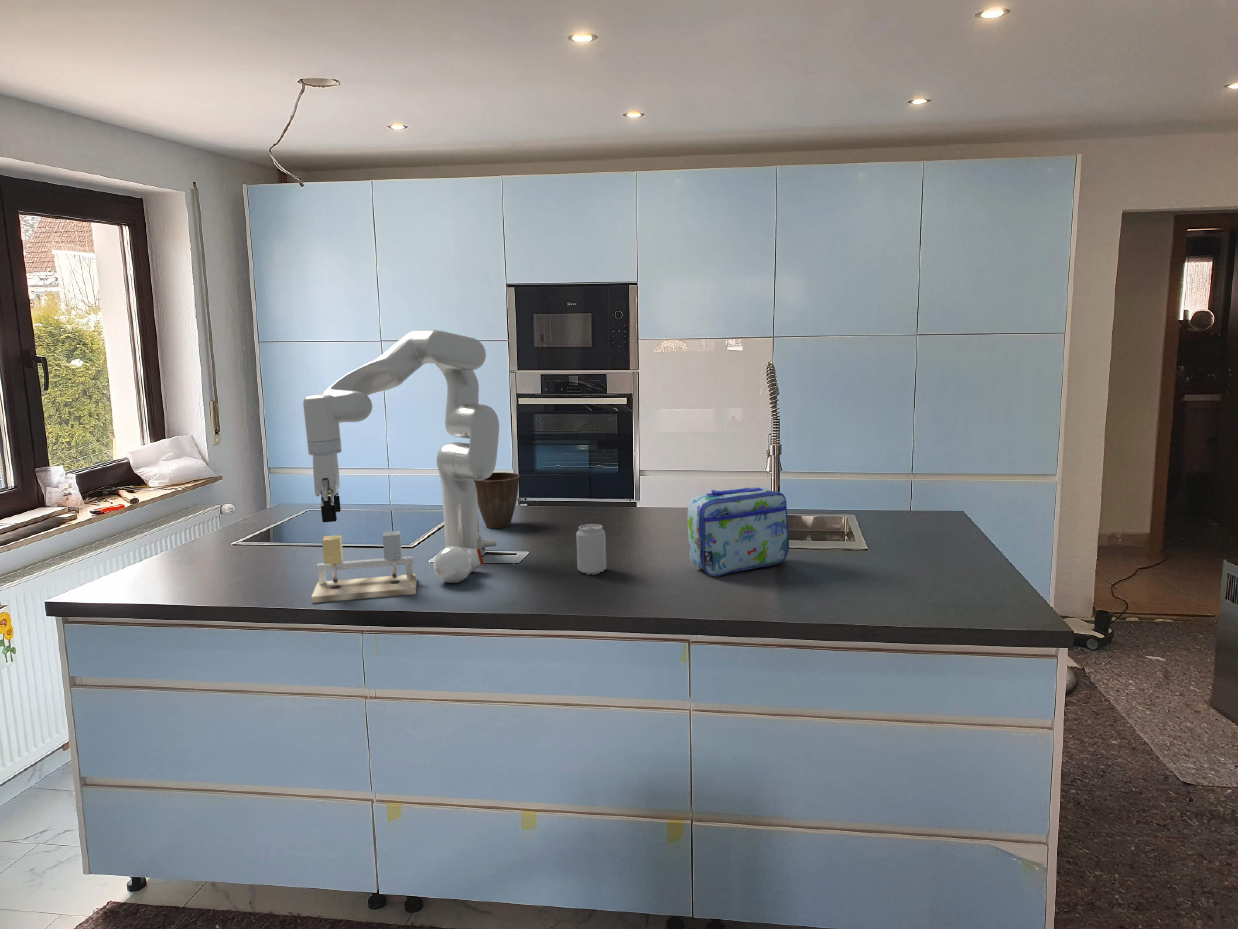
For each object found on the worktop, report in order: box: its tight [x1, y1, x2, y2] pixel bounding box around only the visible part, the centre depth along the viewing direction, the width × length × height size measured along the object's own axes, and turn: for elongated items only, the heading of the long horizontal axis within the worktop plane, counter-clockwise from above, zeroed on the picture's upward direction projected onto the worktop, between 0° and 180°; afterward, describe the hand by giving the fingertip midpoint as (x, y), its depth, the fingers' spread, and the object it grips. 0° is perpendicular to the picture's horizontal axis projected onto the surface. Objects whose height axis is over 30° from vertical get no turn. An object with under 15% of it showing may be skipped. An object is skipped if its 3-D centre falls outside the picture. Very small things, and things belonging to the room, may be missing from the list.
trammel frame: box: [316, 530, 414, 585], centre depth 216 cm, size 23×7×12 cm, turn 102°
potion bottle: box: [433, 546, 485, 584], centre depth 223 cm, size 9×10×15 cm
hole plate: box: [310, 573, 417, 604], centre depth 216 cm, size 24×12×2 cm, turn 102°
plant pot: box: [474, 471, 520, 529], centre depth 277 cm, size 15×15×16 cm
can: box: [575, 523, 607, 575], centre depth 227 cm, size 8×8×12 cm
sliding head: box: [321, 534, 344, 584], centre depth 215 cm, size 4×7×12 cm, turn 12°
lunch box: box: [687, 486, 790, 577], centre depth 226 cm, size 26×11×21 cm, turn 111°
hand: (331, 516), depth 212 cm, fingers open, 9 cm apart
